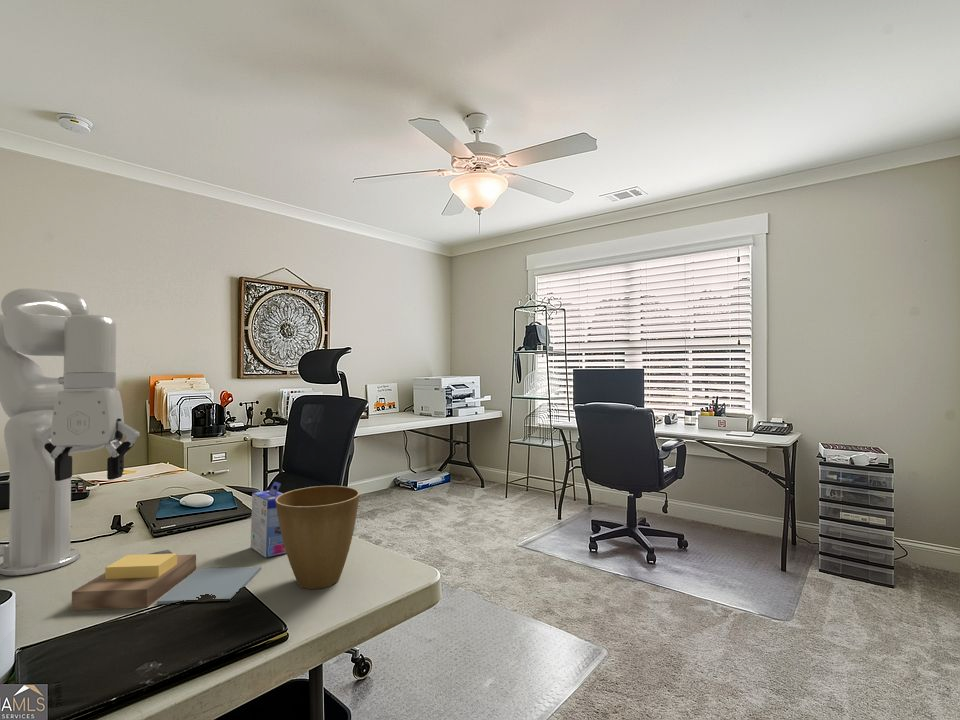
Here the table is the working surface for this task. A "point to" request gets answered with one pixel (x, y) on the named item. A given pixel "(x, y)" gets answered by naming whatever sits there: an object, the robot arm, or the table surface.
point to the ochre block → (141, 566)
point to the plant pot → (317, 531)
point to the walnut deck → (131, 588)
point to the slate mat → (211, 584)
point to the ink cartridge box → (266, 523)
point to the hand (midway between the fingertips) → (89, 478)
